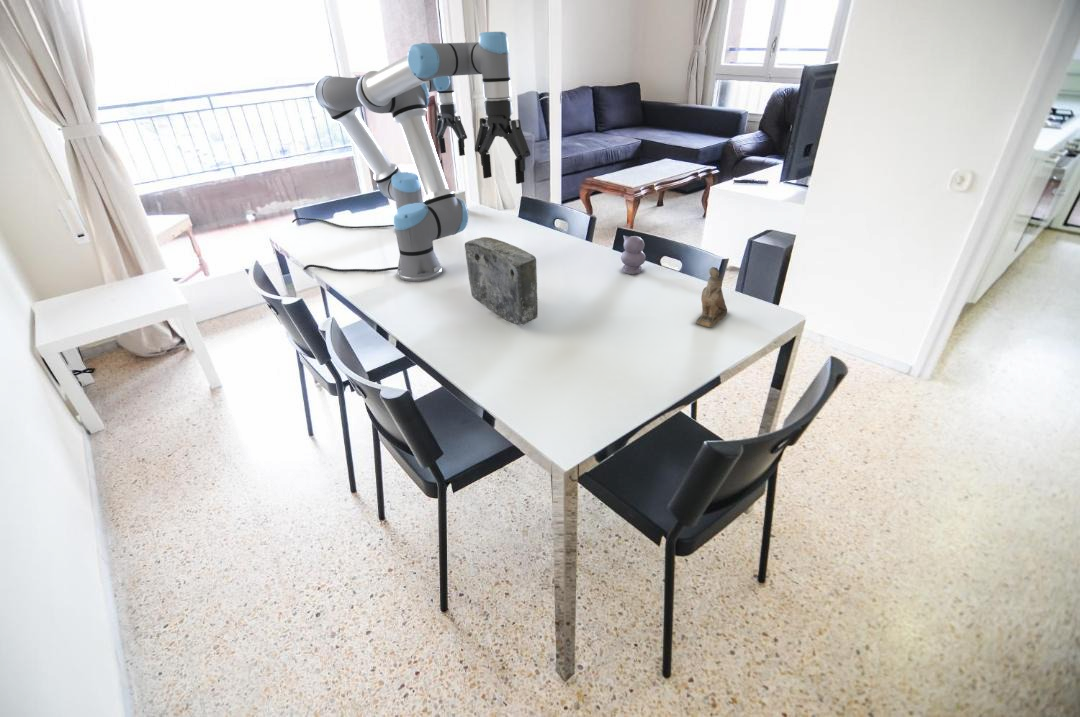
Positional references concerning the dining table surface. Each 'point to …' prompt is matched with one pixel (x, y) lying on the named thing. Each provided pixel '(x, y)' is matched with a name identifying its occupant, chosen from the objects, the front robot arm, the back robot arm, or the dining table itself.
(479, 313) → the dining table surface
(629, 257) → the cat figurine
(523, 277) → the concrete block
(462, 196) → the white rectangular block
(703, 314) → the brown carved statuette
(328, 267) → the front robot arm
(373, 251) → the dining table surface
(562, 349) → the dining table surface
